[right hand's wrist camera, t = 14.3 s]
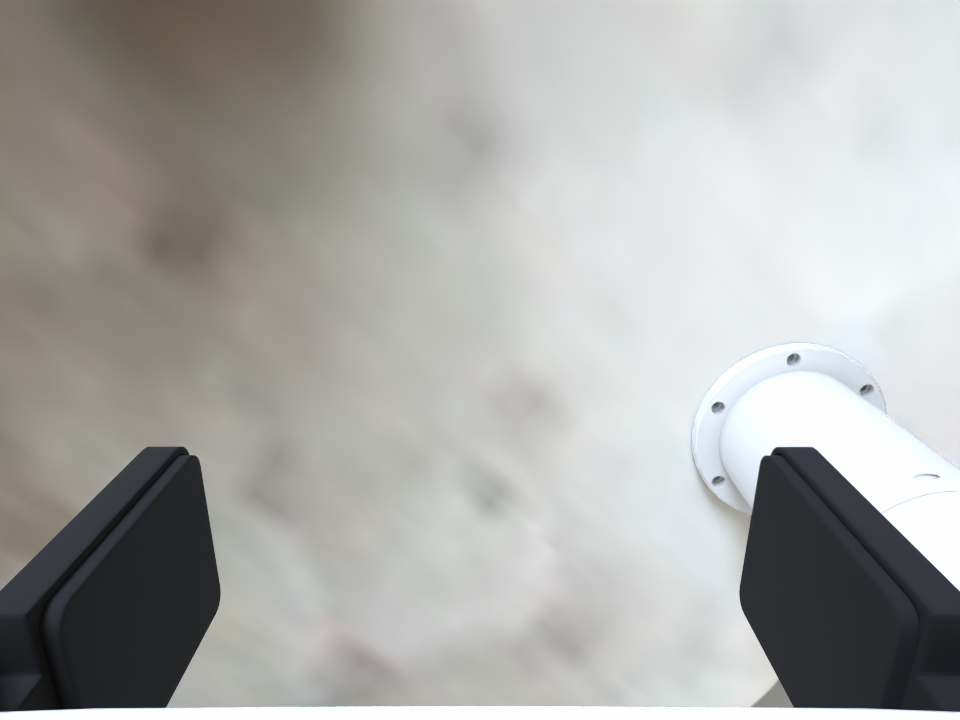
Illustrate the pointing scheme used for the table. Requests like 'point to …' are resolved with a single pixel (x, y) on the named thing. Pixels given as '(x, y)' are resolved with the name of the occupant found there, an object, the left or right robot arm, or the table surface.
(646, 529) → the table surface
